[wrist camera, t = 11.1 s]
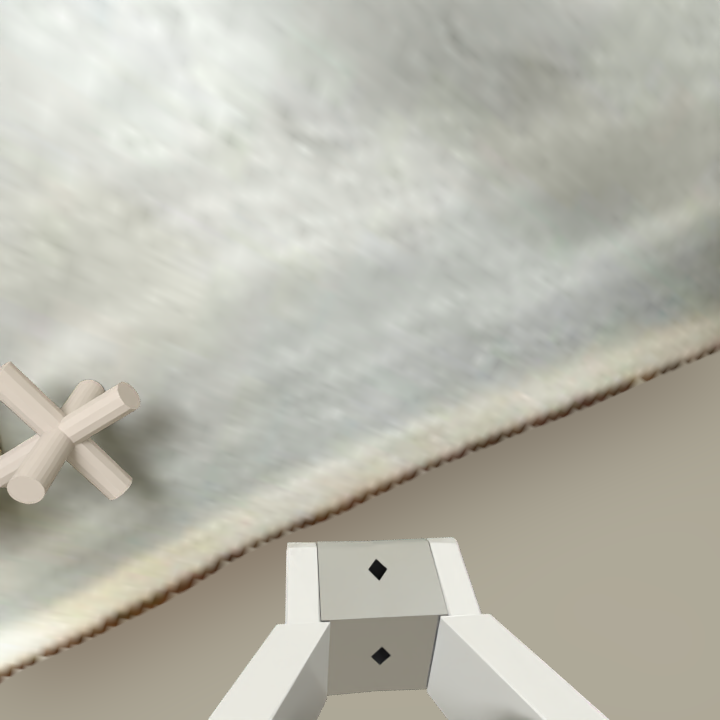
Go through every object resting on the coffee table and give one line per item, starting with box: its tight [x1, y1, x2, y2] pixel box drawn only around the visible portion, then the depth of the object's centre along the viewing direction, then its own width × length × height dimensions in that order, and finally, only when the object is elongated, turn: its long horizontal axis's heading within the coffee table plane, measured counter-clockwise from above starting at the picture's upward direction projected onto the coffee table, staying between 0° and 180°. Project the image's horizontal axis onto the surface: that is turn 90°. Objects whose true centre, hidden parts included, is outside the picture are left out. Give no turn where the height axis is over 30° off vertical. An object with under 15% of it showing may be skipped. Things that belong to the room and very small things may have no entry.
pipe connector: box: [0, 362, 140, 504], centre depth 34 cm, size 10×10×10 cm
